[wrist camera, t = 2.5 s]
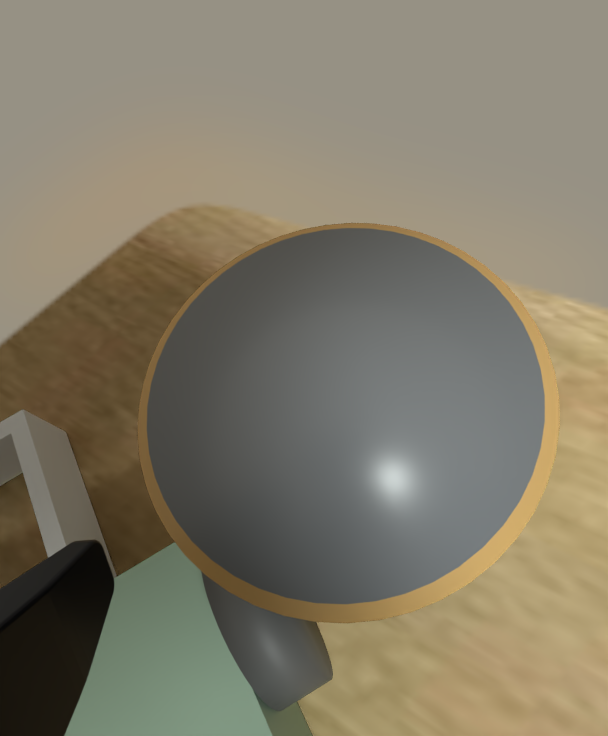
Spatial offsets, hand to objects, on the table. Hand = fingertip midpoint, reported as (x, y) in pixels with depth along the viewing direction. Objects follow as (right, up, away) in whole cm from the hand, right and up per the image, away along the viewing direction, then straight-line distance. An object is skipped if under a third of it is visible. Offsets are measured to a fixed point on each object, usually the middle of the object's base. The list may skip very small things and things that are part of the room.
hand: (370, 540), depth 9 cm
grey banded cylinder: (+1, -3, +8) cm, 9 cm away
